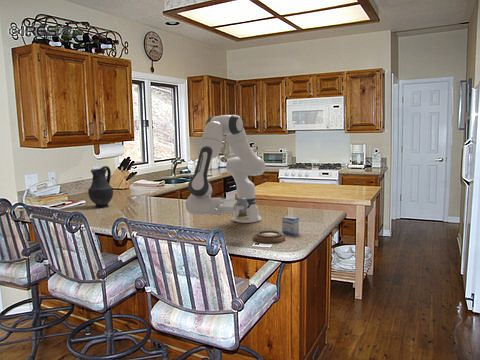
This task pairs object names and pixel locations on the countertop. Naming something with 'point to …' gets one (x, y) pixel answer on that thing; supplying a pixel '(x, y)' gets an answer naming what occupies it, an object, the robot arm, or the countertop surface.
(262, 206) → the countertop surface
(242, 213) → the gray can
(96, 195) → the pitcher
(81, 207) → the countertop surface
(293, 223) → the medicine box
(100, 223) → the countertop surface
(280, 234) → the ring
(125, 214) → the countertop surface
